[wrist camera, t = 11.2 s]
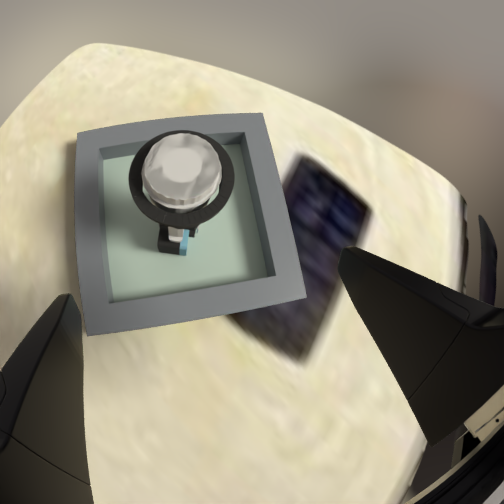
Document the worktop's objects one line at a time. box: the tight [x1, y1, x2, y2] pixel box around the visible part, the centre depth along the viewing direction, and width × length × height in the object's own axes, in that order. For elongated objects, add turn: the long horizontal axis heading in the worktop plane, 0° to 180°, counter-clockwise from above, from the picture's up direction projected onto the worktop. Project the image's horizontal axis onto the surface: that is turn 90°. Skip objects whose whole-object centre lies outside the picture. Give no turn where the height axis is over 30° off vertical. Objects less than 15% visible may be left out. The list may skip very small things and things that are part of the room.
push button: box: [128, 130, 235, 256], centre depth 18 cm, size 7×5×10 cm
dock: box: [74, 113, 307, 336], centre depth 22 cm, size 16×16×3 cm
